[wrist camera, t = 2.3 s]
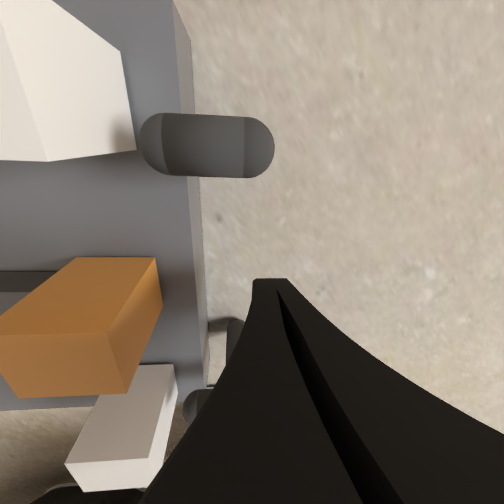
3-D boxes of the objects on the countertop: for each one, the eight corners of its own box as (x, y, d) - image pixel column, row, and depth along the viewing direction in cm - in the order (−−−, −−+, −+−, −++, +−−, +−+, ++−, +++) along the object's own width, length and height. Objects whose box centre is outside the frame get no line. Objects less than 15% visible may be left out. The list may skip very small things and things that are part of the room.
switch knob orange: (163, 305, 10) (126, 393, 7) (93, 306, 10) (18, 398, 7) (154, 257, 9) (106, 332, 6) (76, 257, 9) (-26, 335, 5)
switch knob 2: (178, 392, 13) (157, 486, 10) (124, 395, 13) (83, 491, 9) (173, 364, 12) (148, 457, 9) (114, 366, 12) (63, 464, 8)
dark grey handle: (247, 330, 16) (254, 428, 10) (199, 331, 16) (181, 433, 10) (256, 127, 10) (282, 116, 5) (181, 123, 10) (121, 107, 5)
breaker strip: (209, 358, 17) (205, 402, 14) (35, 364, 16) (-7, 412, 13) (190, 40, 9) (171, -4, 6) (-169, 11, 8) (-394, -60, 5)
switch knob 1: (136, 149, 7) (48, 162, 4) (38, 145, 7) (-153, 153, 4) (120, 51, 6) (-26, -59, 3) (2, 42, 6) (-324, -91, 3)
